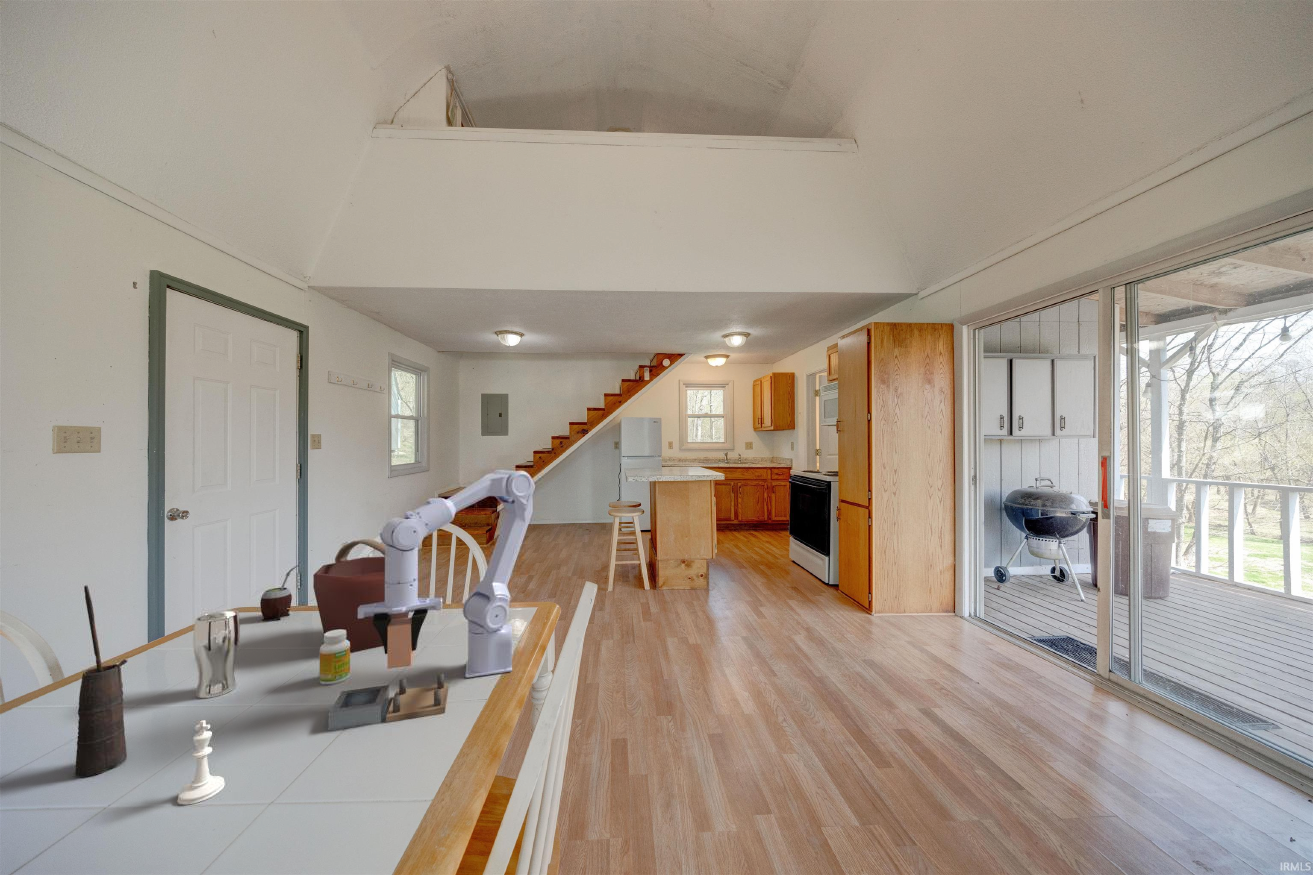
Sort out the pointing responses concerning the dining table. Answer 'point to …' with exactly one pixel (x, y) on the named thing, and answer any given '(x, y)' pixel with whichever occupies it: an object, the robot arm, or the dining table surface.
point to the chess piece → (201, 771)
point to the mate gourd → (276, 602)
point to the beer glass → (216, 652)
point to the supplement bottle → (334, 658)
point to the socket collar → (359, 707)
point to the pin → (400, 643)
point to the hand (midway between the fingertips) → (401, 650)
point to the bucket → (352, 595)
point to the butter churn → (100, 713)
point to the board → (418, 701)
